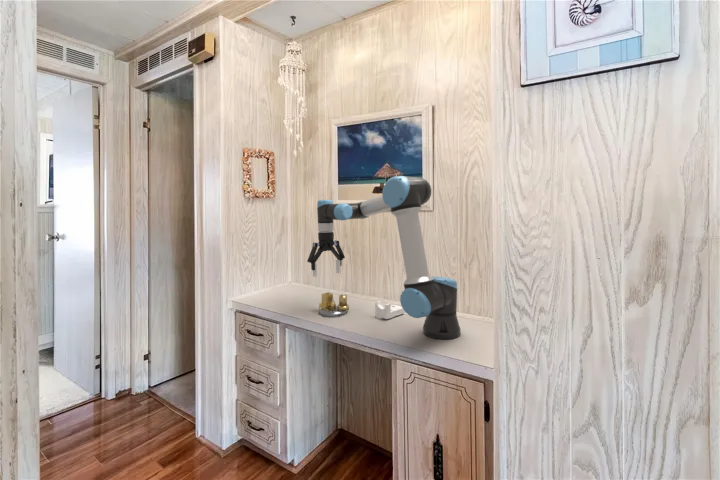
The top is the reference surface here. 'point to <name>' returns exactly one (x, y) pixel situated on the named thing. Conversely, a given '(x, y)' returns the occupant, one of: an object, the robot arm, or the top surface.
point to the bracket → (387, 310)
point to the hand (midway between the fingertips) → (327, 274)
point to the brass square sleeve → (326, 301)
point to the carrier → (339, 309)
